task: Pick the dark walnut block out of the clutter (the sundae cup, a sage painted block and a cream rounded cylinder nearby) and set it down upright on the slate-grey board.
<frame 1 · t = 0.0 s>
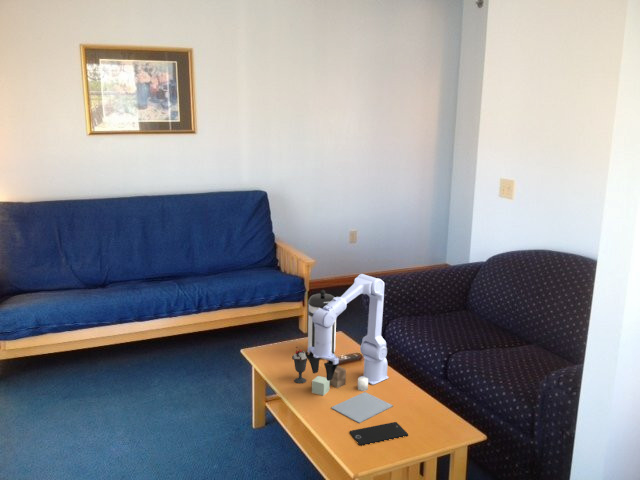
hand: (322, 376, 217), 10 cm above the table, fingers open, 7 cm apart
cell phone: (378, 435, 198), on the table
slate board: (362, 407, 215), on the table
coffee press: (320, 354, 261), on the table
cream rounded cylinder: (362, 388, 230), on the table
walnut block: (337, 384, 233), on the table
sage block: (320, 391, 227), on the table
sundae: (300, 381, 235), on the table
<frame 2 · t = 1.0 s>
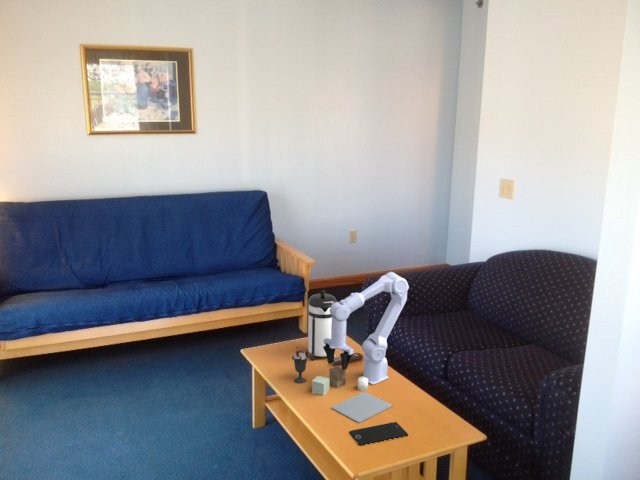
hand: (337, 366, 231), 8 cm above the table, fingers open, 7 cm apart
nothing on the table moved.
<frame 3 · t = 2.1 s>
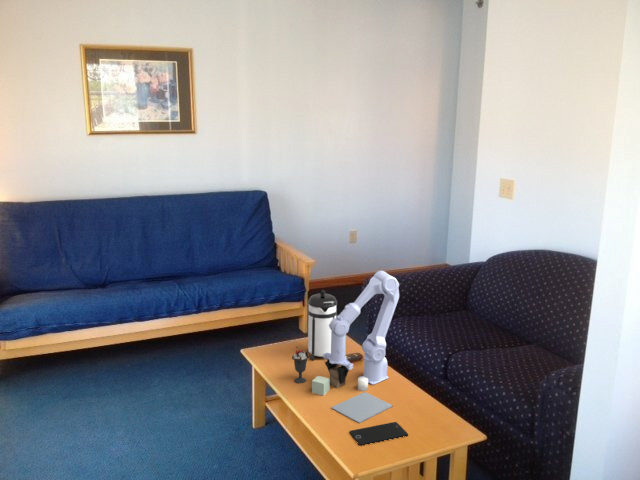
hand: (337, 380, 232), 2 cm above the table, fingers closed on walnut block, 4 cm apart
walnut block: (337, 384, 233), on the table, touching gripper
everything else where it was.
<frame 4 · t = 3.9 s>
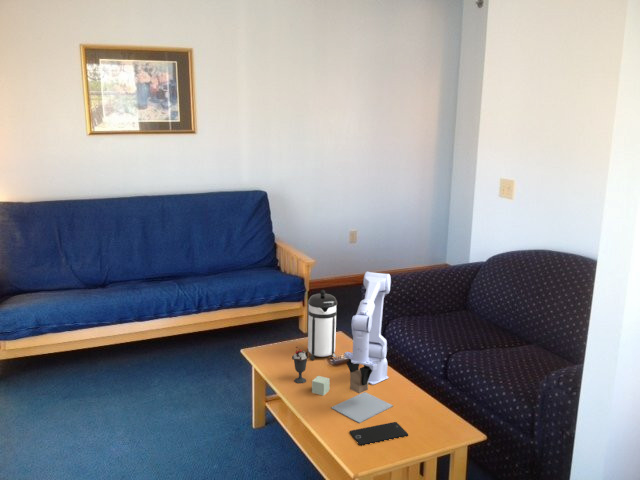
hand: (359, 381, 215), 9 cm above the table, fingers closed on walnut block, 4 cm apart
walnut block: (358, 389, 216), point 6 cm above the table, touching gripper
everything else where it was.
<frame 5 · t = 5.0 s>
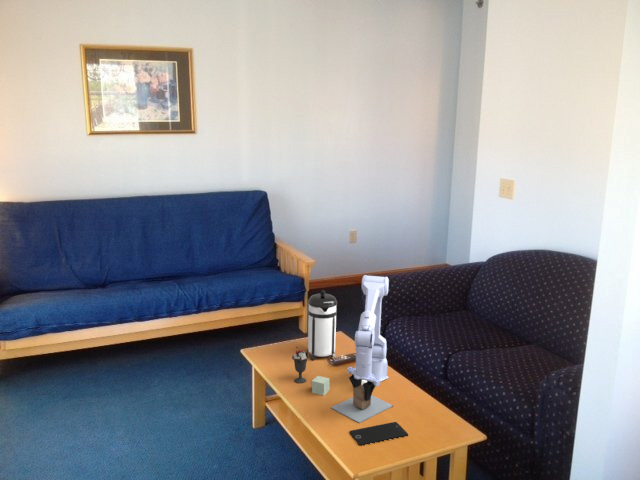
hand: (362, 397, 214), 4 cm above the table, fingers closed on walnut block, 4 cm apart
walnut block: (361, 404, 215), point 1 cm above the table, touching gripper
everything else where it was.
when the fingers open (3 cm above the table, at t = 5.7 s): walnut block stays where it is, resting on slate board.
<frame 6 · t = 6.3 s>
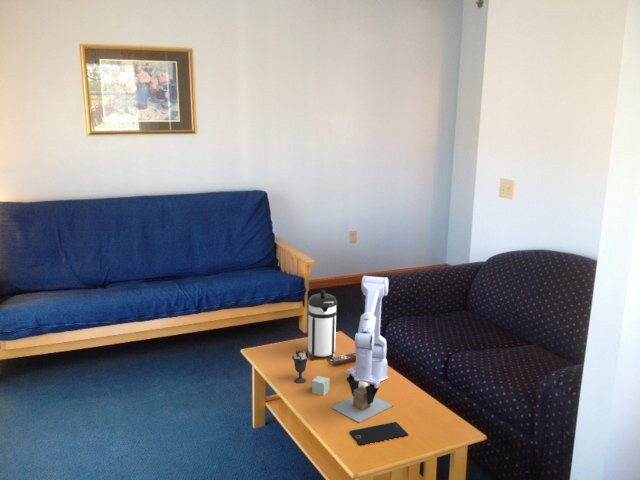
hand: (362, 399, 214), 3 cm above the table, fingers open, 7 cm apart
walnut block: (361, 406, 215), resting on slate board
everything else where it was.
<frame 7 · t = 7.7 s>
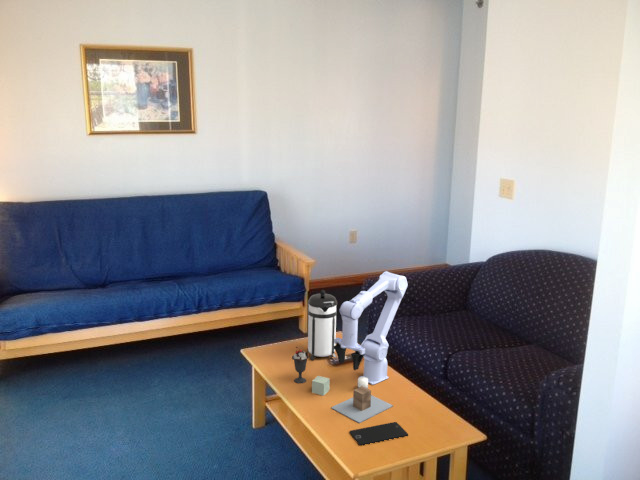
hand: (348, 366, 226), 10 cm above the table, fingers open, 7 cm apart
nothing on the table moved.
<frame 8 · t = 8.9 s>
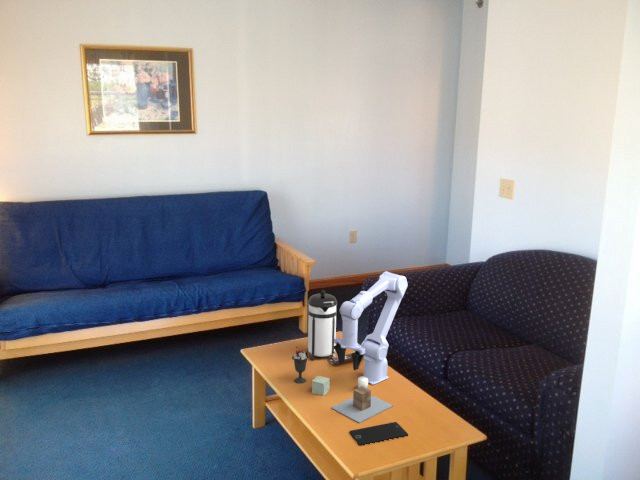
hand: (348, 366, 226), 10 cm above the table, fingers open, 7 cm apart
nothing on the table moved.
at the end: walnut block inside the target area on the slate board (0.3 cm from its centre), point 0.4 cm above the slate board's base; walnut block tilted 0°; the gripper is holding nothing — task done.
